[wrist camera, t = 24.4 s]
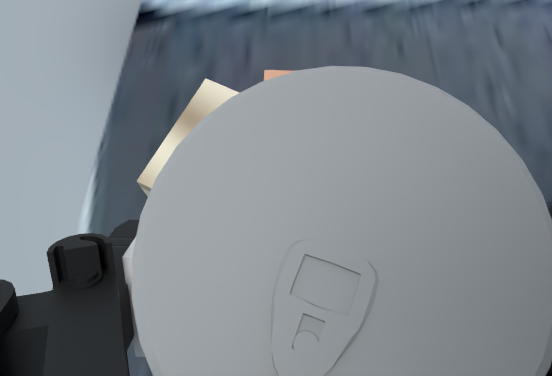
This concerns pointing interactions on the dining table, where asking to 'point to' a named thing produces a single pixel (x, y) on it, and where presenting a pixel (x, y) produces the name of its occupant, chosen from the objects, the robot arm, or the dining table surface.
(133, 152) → the dining table surface
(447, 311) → the canned food
